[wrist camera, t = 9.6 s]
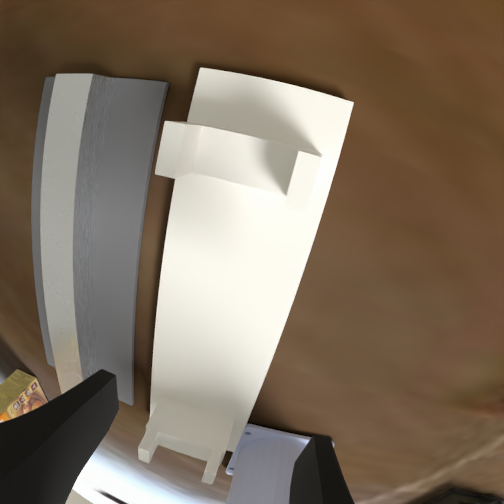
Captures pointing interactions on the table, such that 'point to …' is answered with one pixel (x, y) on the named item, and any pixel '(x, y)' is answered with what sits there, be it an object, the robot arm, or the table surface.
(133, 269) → the rubber mat
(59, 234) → the rail
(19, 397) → the candy box
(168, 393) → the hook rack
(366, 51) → the table surface
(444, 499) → the diary
